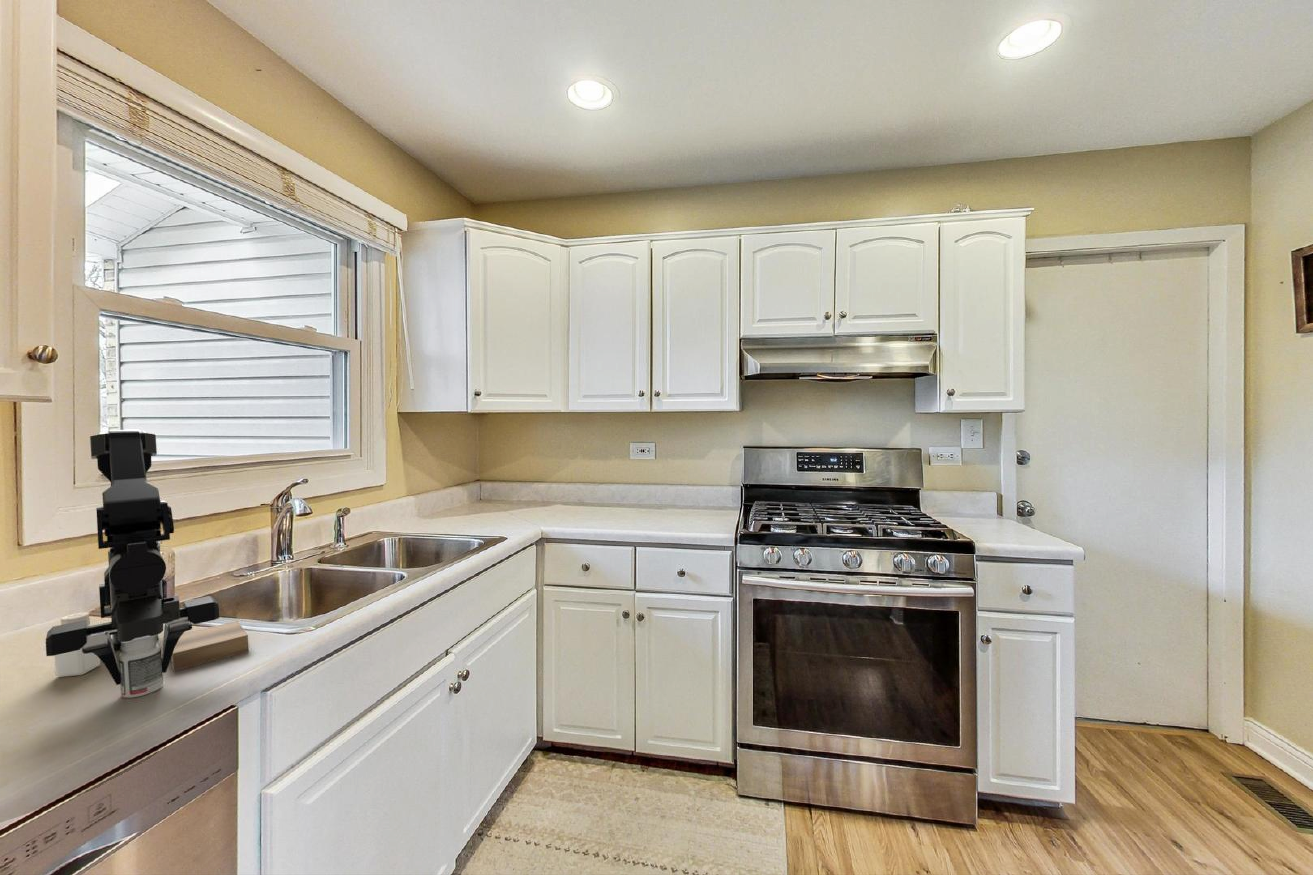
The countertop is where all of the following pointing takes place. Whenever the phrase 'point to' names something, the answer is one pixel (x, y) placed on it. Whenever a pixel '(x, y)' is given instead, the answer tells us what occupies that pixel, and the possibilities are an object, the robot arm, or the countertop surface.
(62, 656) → the pepper shaker
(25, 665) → the countertop surface
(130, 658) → the pill bottle
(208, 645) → the brown square block
